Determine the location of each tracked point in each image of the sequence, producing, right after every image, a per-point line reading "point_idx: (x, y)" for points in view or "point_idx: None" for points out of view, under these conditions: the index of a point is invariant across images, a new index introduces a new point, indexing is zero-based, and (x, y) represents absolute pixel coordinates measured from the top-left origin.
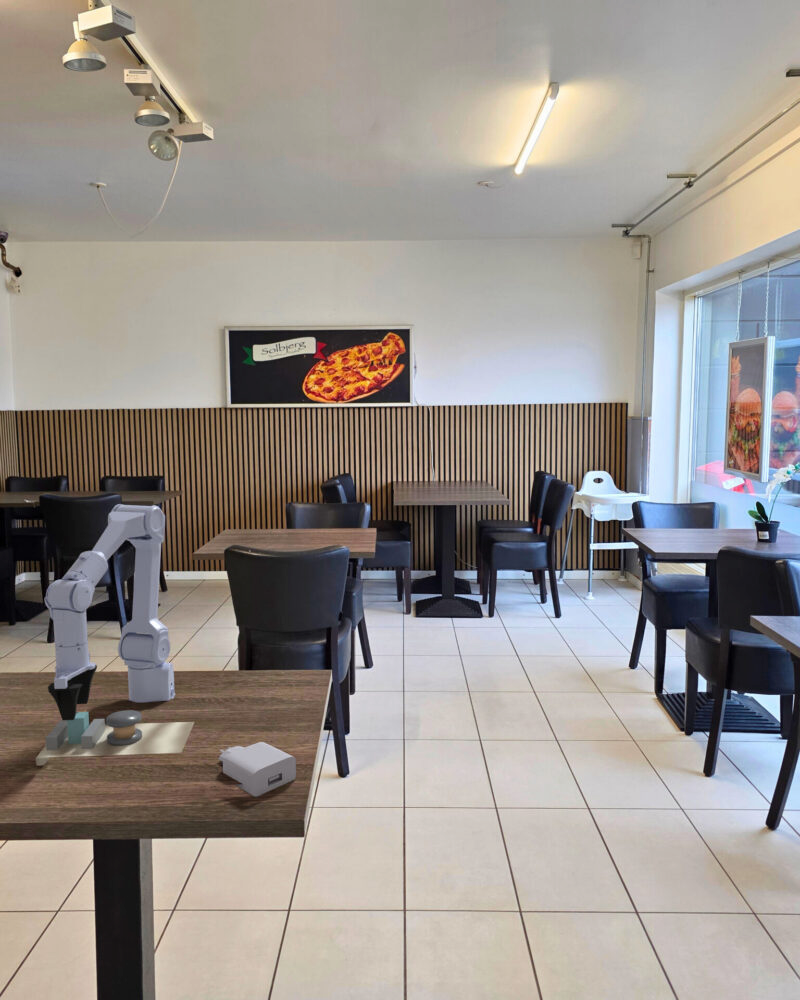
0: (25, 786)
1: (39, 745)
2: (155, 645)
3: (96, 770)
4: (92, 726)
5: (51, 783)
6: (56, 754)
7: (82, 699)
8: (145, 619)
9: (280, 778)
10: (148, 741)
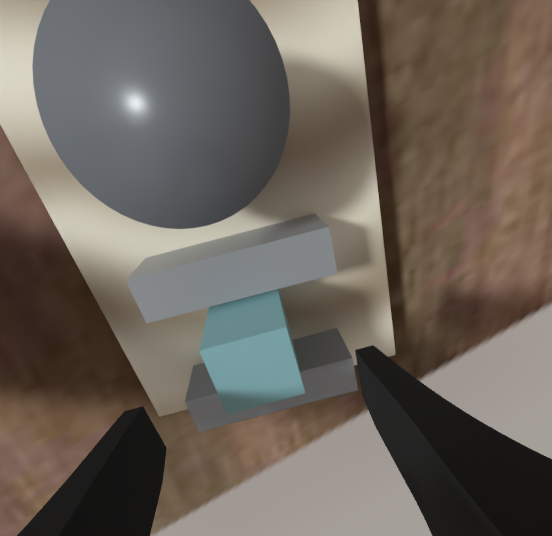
0: (506, 293)
1: None
2: None
3: (416, 130)
4: (227, 284)
5: (498, 232)
6: (370, 311)
7: (142, 448)
8: None
9: None
10: None
